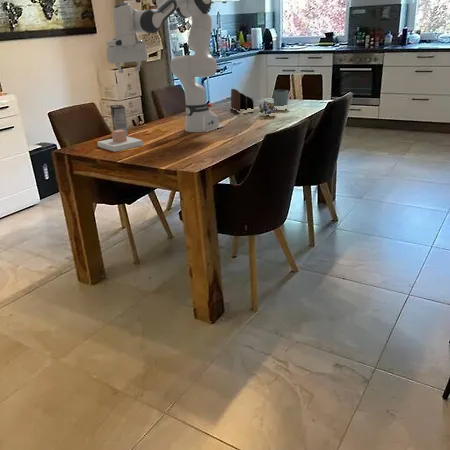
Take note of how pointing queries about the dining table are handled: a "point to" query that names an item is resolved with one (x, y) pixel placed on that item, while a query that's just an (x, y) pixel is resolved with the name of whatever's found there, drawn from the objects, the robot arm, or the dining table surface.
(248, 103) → the letter holder
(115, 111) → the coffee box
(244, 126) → the dining table surface
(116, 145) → the base plate
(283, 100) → the grey tapered pot
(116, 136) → the terracotta block
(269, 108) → the passion flower
